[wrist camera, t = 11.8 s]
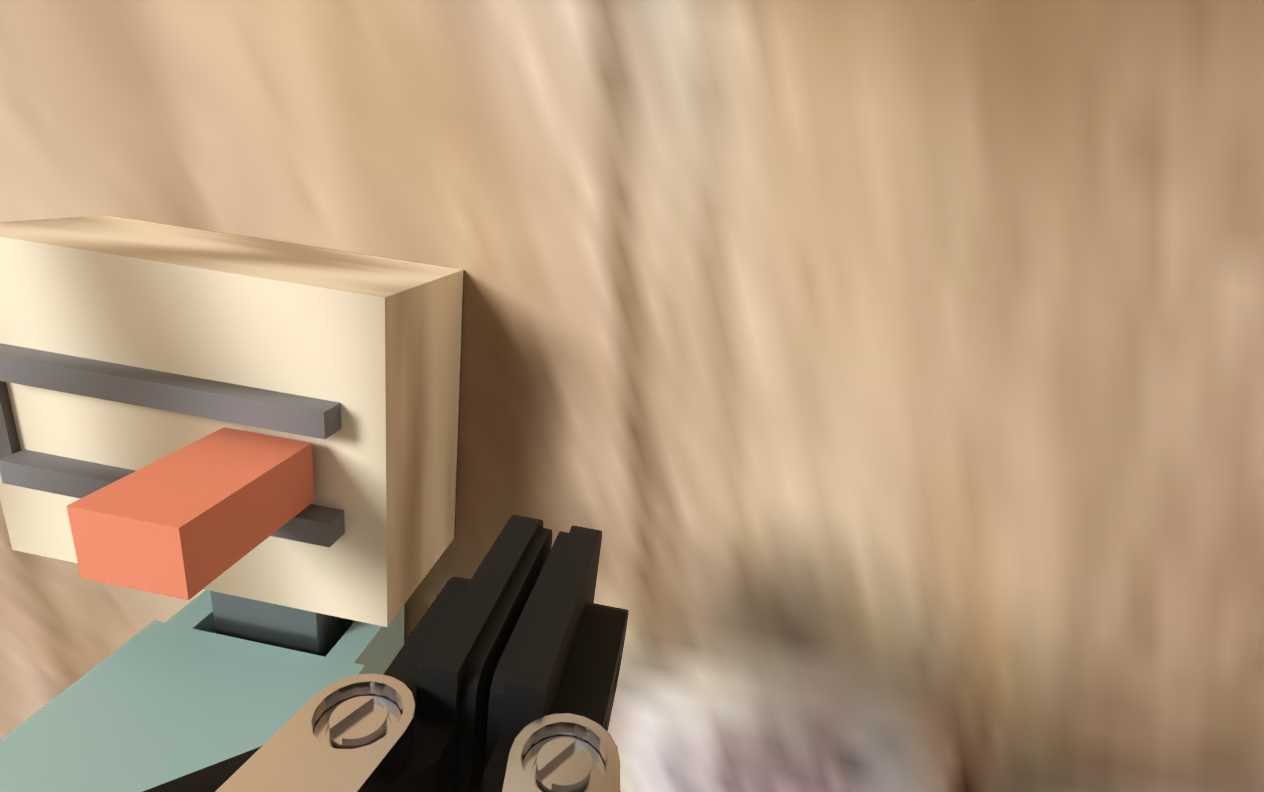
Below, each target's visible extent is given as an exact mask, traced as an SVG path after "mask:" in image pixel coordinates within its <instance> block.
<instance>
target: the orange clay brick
mask: <svg viewBox="0 0 1264 792" xmlns="http://www.w3.org/2000/svg"><path fill="white" fill-rule="evenodd" d="M314 501H315V499H314V479H313V459H312V443H309V442H304V441H298V440H293V439H287V438H282V437H276V436H271V435H265V434H260V433H254V432H249V431H243V430H238V429H232V428H227V427H223V428H221V429H219V430H217V431H215V432H213V433H211V434H209V435H207V436H205V437H203V438H201V439H199V440H197V441H195V442H193V443H191V444H189V445H187V446H185V447H183V448H181V449H179V450H177V451H175V452H173V453H171V454H169V455H167V456H165V457H163V458H161V459H159V460H157V461H155V462H153V463H151V464H149V465H147V466H145V467H143V468H141V469H139V470H137V471H135V472H133V473H131V474H129V475H127V476H125V477H123V478H121V479H119V480H117V481H115V482H113V483H111V484H109V485H107V486H105V487H103V488H101V489H99V490H97V491H95V492H93V493H91V494H89V495H87V496H85V497H83V498H81V499H79V500H77V501H75V502H73V503H71V504H69V505H67V506H66V507H67V512H68V517H69V522H70V527H71V532H72V537H73V542H74V547H75V552H76V557H77V562H78V567H79V572H80V577H81V578H85V579H90V580H95V581H99V582H104V583H109V584H114V585H119V586H123V587H128V588H133V589H138V590H142V591H147V592H152V593H157V594H162V595H166V596H171V597H176V598H181V599H186V600H189V599H191V598H192V597H193V596H194V595H196V594H197V593H198V592H199V591H201V590H202V589H203V588H205V587H206V586H207V585H208V584H210V583H211V582H212V581H213V580H215V579H216V578H217V577H219V576H220V575H221V574H222V573H224V572H225V571H226V570H227V569H229V568H230V567H231V566H233V565H234V564H235V563H236V562H238V561H239V560H240V559H241V558H243V557H244V556H245V555H247V554H248V553H249V552H250V551H252V550H253V549H254V548H255V547H257V546H258V545H259V544H260V543H262V542H263V541H264V540H266V539H267V538H268V537H269V536H271V535H272V534H273V533H274V532H276V531H277V530H278V529H280V528H281V527H282V526H283V525H285V524H286V523H287V522H288V521H290V520H291V519H292V518H294V517H295V516H296V515H297V514H299V513H300V512H301V511H302V510H304V509H305V508H306V507H307V506H309V505H310V504H311V503H313V502H314Z"/></svg>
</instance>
